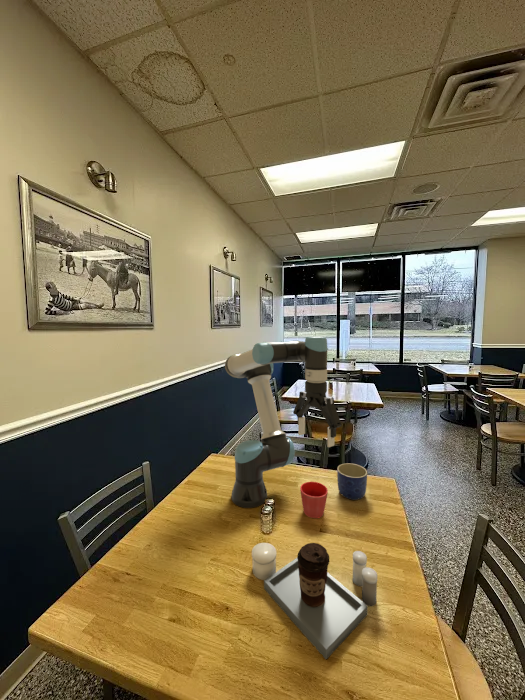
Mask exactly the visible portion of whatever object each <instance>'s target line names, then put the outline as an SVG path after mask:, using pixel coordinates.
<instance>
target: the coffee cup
mask: <svg viewBox="0 0 525 700" xmlns="http://www.w3.org/2000/svg"><path fill="white" fill-rule="evenodd" d="M327 550H328V549H327V548H326V547H324V546H323V545H322V544H320V543H316V542H309V543H306V544H304V545H303V546H301V547H300V549H299V551H298V553H297V557H296V558H298V569H299V579H300V590H301V598H302V600H303V602H304V603H305V604H306V605H308V606H310V607H319V606H322V605H323V604H324V603H325V594H324V592H325V585H326V582H327V572H328V568H329V564H330V555H329V553H328V552H327Z"/></svg>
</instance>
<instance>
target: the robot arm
mask: <svg viewBox="0 0 525 700" xmlns="http://www.w3.org/2000/svg"><path fill="white" fill-rule="evenodd" d="M328 350H329V349H328V340H327V337H325V336H306V337H305V340H304V341H302V340H290V341H275V342H274V341H273V342H272V341H271V342H270V341H268V342H267V341H263V342H258V343H257V342H256V343H254V345H253V347H252V349H249V350H248V351H245V352H242V353H239V354H237V353H235V354H233V355H230V356H228V358H227V359H226V360H225V363H224V369H225V371H226V373H227V374H228V375H229V376H231V377H232V378H235V379H236V378H237V379H245V378H246V379H247V383H248V384H249V385H251V387H252V390H253V392H252V393H253V395H254V400H255V404H256V409H257V413H258V419H259V422H260V427H261V433H262V436H261V438H260V440H258V439H248V440H244V441H242V442H241V443H239V444H238V445H237V446H236V448H235V451H234V452H235V453H234V466H235V472H234V474H235V481H234V485H233V488H232V491H231V501H232V503H233V504H234V505H236V506H237V507H240V508H247V509H248V508H249V509H252V508H257V507H259V506H261V505H263V504H264V503H265V502H266V501H265V499H266V498H267V499H268V490H267V487H266V485H265V482H264V477H263V476H264V474H263V473H264V472H268V471H271V470H275V469H279V468H284V467H285V466H289V465H291V464H292V463H293V461H294V458H295V454H296V450H295V444H294V442H293V441H292V439H291V438H290V437H288V436H287V434H286V432H284V431H283V430H282V428H281V424H280V420H279V416H278V412H277V407H276V405H275V404H276V403H275V399H274V395H273V391H272V387H271V383H270V380H271V378H272V374H273V372H274V364H279V363H290V362H291V363H294V362H302V363H304V364H305V365H304V371H305V372H304V376H305V382H304V390H302V391H299V392H298V393H299V395H298V396H299V397H298V399H297V402H296V404H295V407H294V409H293V412H292V413H293V415H296V418H297V423H296V424H297V426H298V433H297V434H298V436H302V435H305V434H306V417H305V414H306V413H307V412H308V410H309V409H310V408H315V409H318V411H320V412H321V414H322V416H323V417H324V419H325V421H326V423H327V425H328V427H327V448H331V447H334V446H335V438H336V437H337V428H340V427H342V426H343V425H342V424H343V423H342V421H341V419H340V416H339V413H338V410H337V408H336V405H335V398H334V396H331V397H327V395H326V394H327V391H328V382H327V380H328ZM267 499H266V500H267ZM264 501H265V502H264Z"/></svg>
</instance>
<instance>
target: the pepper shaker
mask: <svg viewBox="0 0 525 700" xmlns="http://www.w3.org/2000/svg"><path fill="white" fill-rule="evenodd" d="M377 584H378V573H377V571H376V570H375V569H374V568H372V567H369V566H366V568H364V569H363V570H362V586H361V591H362V593H361V601H363V602H364V603H365V604H366V605H367V606H368V607H374V606H376V605H377V592H378V591H377V589H378V588H377V587H378V585H377Z"/></svg>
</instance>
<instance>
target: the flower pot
mask: <svg viewBox="0 0 525 700" xmlns="http://www.w3.org/2000/svg"><path fill="white" fill-rule="evenodd" d="M299 490H300V496H301V504H302V509H303V513H304V515H305V516H306V517H308V518H311V519H319V518H321V517H323V516H324V513H325V508H326V504H327V498H328V492H329V489H328V488H327V486H325V485H324V484H323V483H320V482H318V481H307V482H304V483H302V484H301V485H300V489H299Z"/></svg>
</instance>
